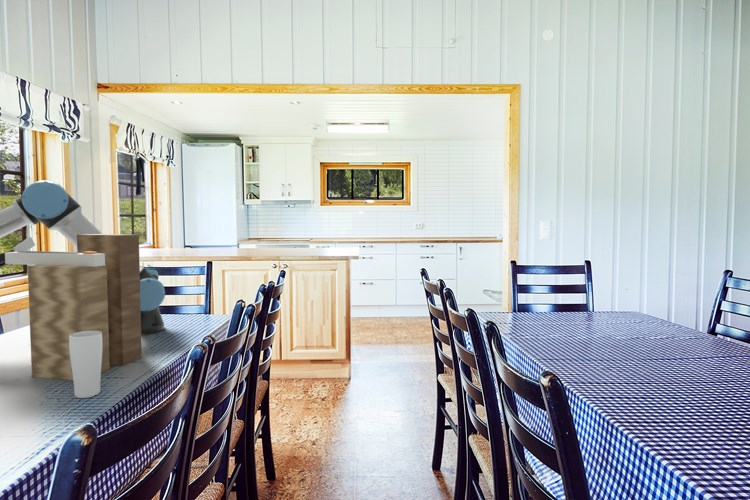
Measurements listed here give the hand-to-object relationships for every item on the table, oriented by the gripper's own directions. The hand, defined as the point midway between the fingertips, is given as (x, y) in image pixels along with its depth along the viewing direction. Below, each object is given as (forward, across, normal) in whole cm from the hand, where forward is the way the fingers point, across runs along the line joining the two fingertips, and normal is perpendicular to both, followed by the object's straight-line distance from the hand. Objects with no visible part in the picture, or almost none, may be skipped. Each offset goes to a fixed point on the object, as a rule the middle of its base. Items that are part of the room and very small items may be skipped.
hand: (9, 242), depth 125 cm
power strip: (+10, 0, -12) cm, 16 cm away
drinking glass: (+12, +13, -49) cm, 52 cm away
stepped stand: (-1, -5, -41) cm, 41 cm away
